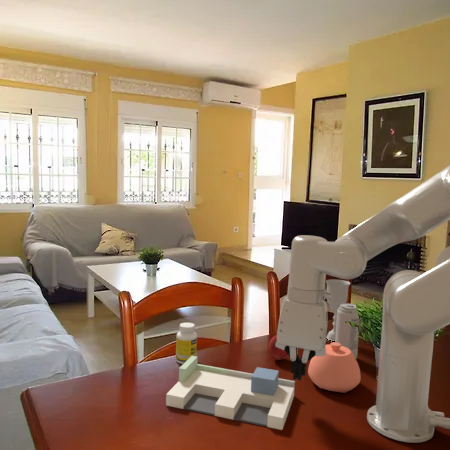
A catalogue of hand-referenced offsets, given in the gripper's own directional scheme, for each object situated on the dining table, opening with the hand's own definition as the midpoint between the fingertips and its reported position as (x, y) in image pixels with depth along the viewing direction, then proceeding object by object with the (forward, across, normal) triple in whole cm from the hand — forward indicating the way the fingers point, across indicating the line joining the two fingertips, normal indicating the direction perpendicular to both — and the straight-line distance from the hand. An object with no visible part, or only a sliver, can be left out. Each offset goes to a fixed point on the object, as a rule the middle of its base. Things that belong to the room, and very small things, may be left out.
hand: (297, 377), depth 94 cm
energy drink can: (+6, -9, -30) cm, 32 cm away
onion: (+7, +8, -22) cm, 25 cm away
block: (+4, +7, 0) cm, 8 cm away
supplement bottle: (+8, +31, -12) cm, 34 cm away
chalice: (+6, -5, -44) cm, 45 cm away
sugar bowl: (+6, -7, -14) cm, 17 cm away
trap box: (+7, +13, +3) cm, 15 cm away
